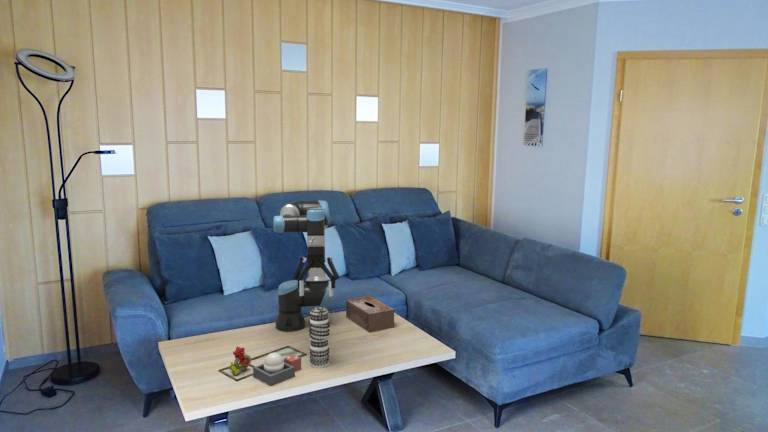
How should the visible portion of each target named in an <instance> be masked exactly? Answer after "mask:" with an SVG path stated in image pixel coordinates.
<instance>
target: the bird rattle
mask: <svg viewBox="0 0 768 432" xmlns="http://www.w3.org/2000/svg"><path fill="white" fill-rule="evenodd" d="M245 349H246V348H245V347H240V346H236V347H235V350H234V351H233V352H232V355H234V358H235V359H234V361H232V362H230V365H228V366H229V370H230V371H231V372H232V373H233V374H234V375H241V372H240V371H246V370H247V369H248V368H249V367H250V366H249V365H250V364H251V362H252V360H251V358H252V357H251V356H250V355H249V354H248V353H245V351H246V350H245ZM239 364H240V365H239Z"/></svg>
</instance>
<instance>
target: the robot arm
mask: <svg viewBox="0 0 768 432" xmlns="http://www.w3.org/2000/svg"><path fill="white" fill-rule="evenodd" d="M279 212H280V213H279V215H275V216H273V223H272V224H273V232H274V233H275V234H276V233H278V234H279V233H281V234H284V233H286V234H287V233H306V246H307V248H306V255H307V257H305V256H301V257H300V258H299V264H298V266H297V268H296V270H295V273H294V275H293V277H292V278H293V280H287V281H284V282H281V283H280V284H279V285H278V288H277V289H278V290H277V296H278V303H277V304H278V313H277V317H276V320H275V324H274V327H275V329H276V330H278V331H281V332H297V331H301V330H302V329H304V328H305V327H306V320H305V316H304V314H303V310H302V309H303V308H304V307H305V308H306V307H307V308H308V307H318V306H321V307H326V306H328V305H329V304H330V300H331V297H334V289H336V281H337V280H340V275H339V273H338V271H337V269H336V267H335V264H334V263H333V257H331V256H328V257H326V232H325V231H326V229H327V228H329V227H328V224H331V216H330V215H331V214H330V208H329V203H328V202H327V201H326V200H320V199H317V200H294V201H291V202H288V203H286V204H285V205H284V206H282V207H281V209H280V211H279ZM306 262H307V264H306V266H305V263H306ZM326 263H327V265H328V267H329V268H328V267H327V265H326ZM304 266H305V268H304V269H303V267H304ZM307 274H308V276H307V278H306V279H305V280H304V277H305V276H306V275H307ZM326 275H327V276H326ZM329 279H330V280H329ZM302 307H303V308H302Z"/></svg>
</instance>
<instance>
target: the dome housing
mask: <svg viewBox="0 0 768 432" xmlns="http://www.w3.org/2000/svg"><path fill="white" fill-rule="evenodd" d="M301 369H302V357H298V356H296V355H291V356H288V357H286V358H284V370H282V371H279V372H277V373H274V374H269V373H267V372H265V371H264V363H261V364H258V365H256V366H255V367H253V368H252V373H253V375H252V376H253V378H255V379H257V380H258V381H260V382H262V383H264V384H266V385H268V386H270V387H272V386H275V385H277V384H279V383H282V382H284V381H287V380H290V379H292V378H294V377H296V372H297V371H300V370H301Z"/></svg>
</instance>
